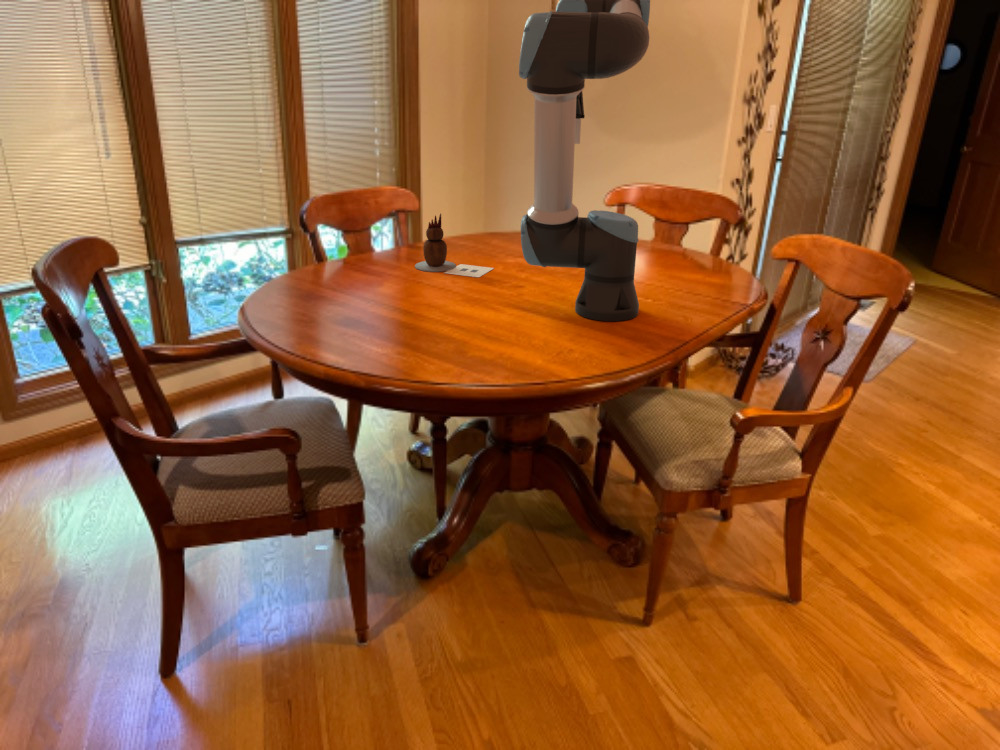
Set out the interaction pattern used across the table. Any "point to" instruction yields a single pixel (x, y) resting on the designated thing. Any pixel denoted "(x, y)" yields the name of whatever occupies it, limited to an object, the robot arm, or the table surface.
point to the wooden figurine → (435, 244)
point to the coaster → (435, 267)
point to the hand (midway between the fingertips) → (567, 145)
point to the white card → (469, 270)
